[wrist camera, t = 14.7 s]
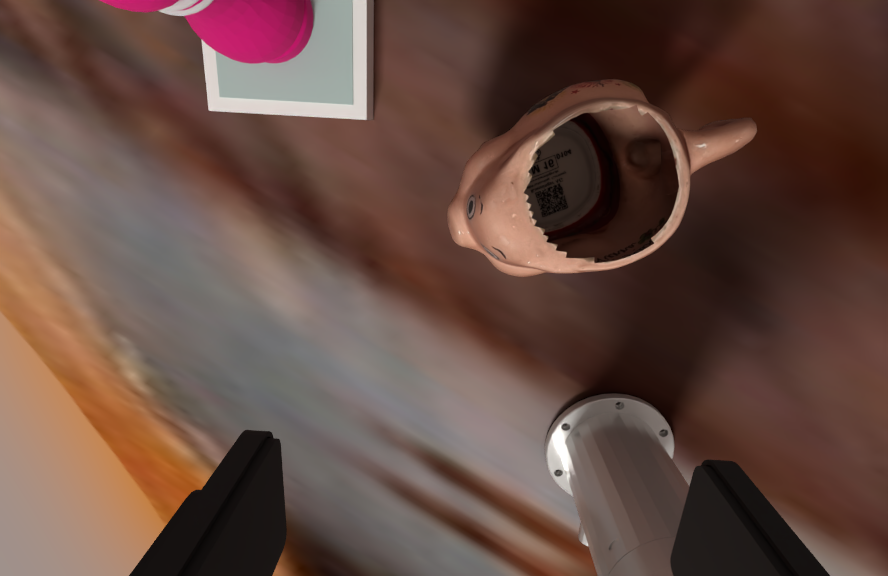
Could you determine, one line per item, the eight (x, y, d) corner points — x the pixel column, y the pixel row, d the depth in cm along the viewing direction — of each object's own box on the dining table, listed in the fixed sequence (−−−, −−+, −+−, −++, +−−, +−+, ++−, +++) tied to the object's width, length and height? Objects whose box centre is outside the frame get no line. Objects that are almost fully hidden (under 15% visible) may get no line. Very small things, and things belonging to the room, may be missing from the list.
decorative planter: (657, 36, 36) (772, -15, 23) (703, 182, 40) (826, 211, 26) (424, 155, 39) (407, 170, 26) (485, 281, 43) (497, 349, 30)
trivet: (373, 120, 39) (366, 119, 36) (227, 111, 39) (207, 110, 36) (374, -54, 35) (366, -70, 32) (211, -62, 35) (188, -80, 32)
